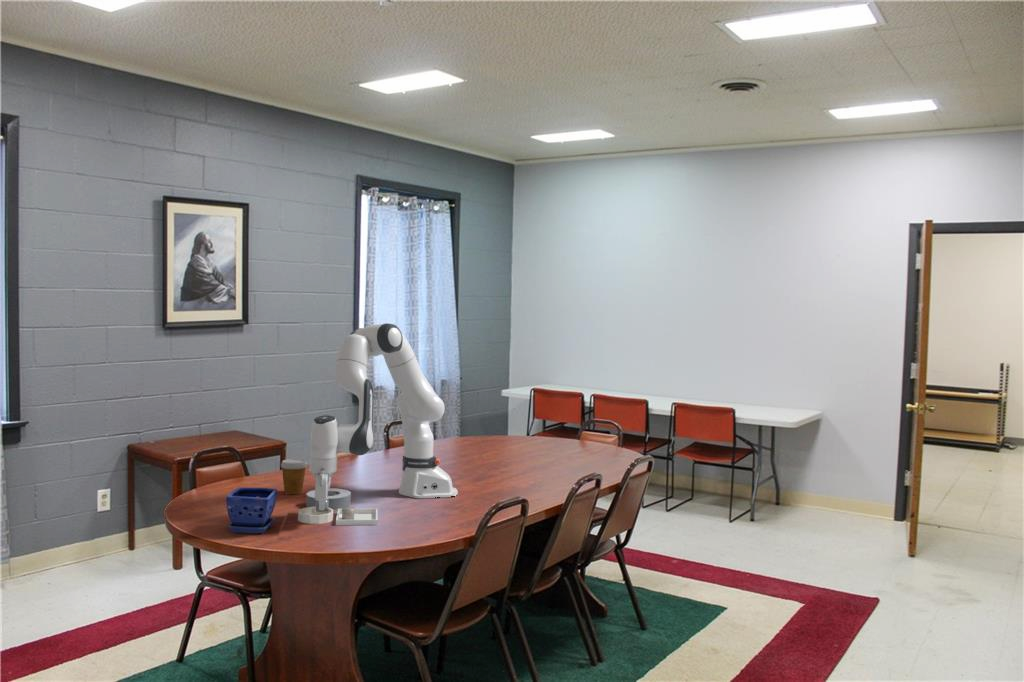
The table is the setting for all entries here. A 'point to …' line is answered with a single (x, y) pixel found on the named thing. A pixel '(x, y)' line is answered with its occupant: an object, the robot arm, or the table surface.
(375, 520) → the tray
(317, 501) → the pebble
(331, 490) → the tape roll
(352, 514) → the pebble
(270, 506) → the flower pot
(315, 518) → the bowl
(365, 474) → the table surface
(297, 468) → the disposable coffee cup
